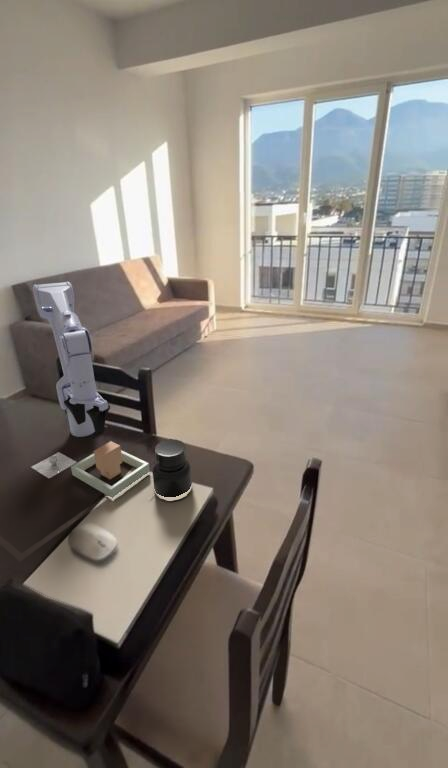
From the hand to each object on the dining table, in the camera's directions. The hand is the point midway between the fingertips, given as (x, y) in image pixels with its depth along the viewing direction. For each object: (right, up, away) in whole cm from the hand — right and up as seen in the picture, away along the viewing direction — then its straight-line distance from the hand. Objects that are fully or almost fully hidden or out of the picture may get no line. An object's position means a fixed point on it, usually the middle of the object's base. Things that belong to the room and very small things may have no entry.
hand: (90, 427), depth 100 cm
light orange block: (+6, -11, -4) cm, 14 cm away
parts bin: (+6, -12, -4) cm, 14 cm away
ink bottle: (+22, -14, -8) cm, 28 cm away
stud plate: (-9, -10, 0) cm, 14 cm away
